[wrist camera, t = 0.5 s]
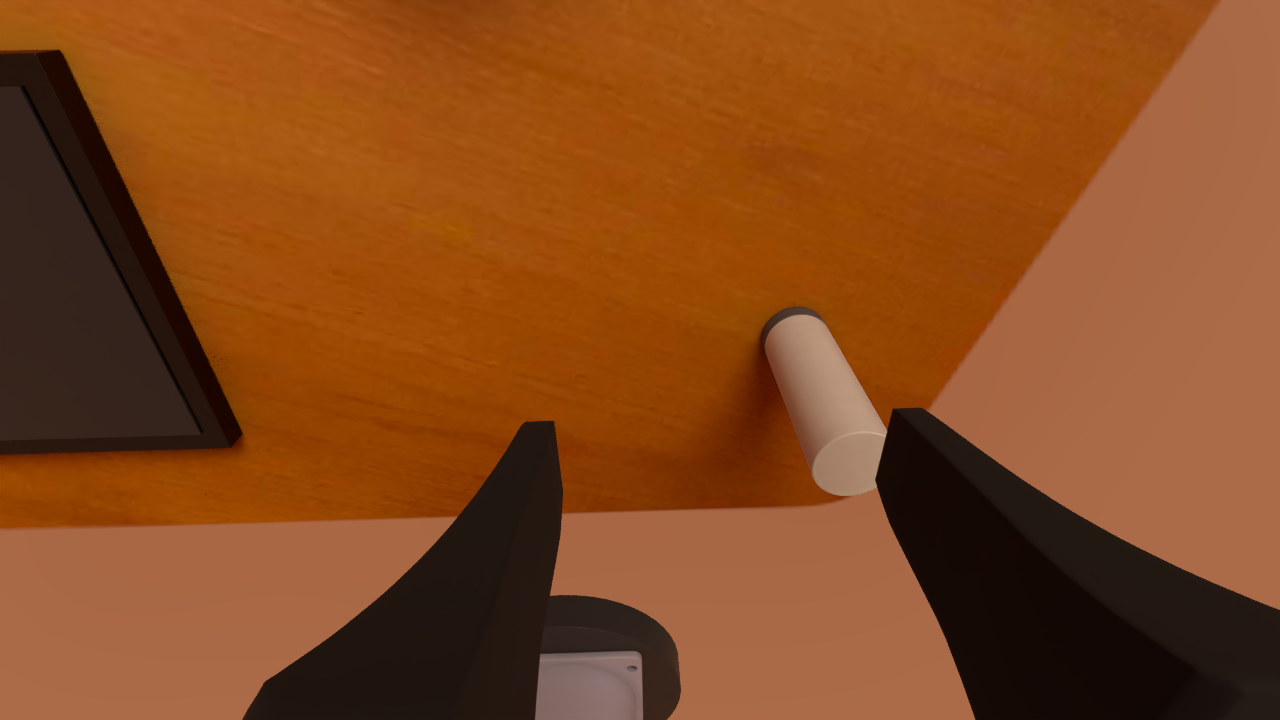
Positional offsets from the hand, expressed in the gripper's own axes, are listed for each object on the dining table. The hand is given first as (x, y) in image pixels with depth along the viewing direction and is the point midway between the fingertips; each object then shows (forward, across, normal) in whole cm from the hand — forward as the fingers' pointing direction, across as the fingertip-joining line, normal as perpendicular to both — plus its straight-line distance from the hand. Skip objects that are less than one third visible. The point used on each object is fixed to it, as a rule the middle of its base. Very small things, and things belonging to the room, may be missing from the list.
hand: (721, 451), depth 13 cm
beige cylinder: (+10, -4, +3) cm, 11 cm away
